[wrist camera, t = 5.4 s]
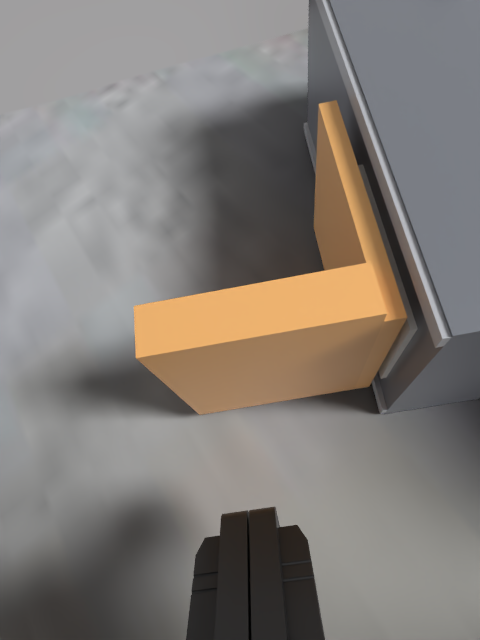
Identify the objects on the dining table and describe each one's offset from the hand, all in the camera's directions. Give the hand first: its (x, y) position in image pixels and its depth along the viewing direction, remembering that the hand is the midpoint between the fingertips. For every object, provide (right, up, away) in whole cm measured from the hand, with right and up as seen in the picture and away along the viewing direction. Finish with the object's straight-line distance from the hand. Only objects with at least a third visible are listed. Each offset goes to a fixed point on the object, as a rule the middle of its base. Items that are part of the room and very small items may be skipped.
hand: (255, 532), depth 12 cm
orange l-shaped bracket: (+1, +6, +7) cm, 10 cm away
